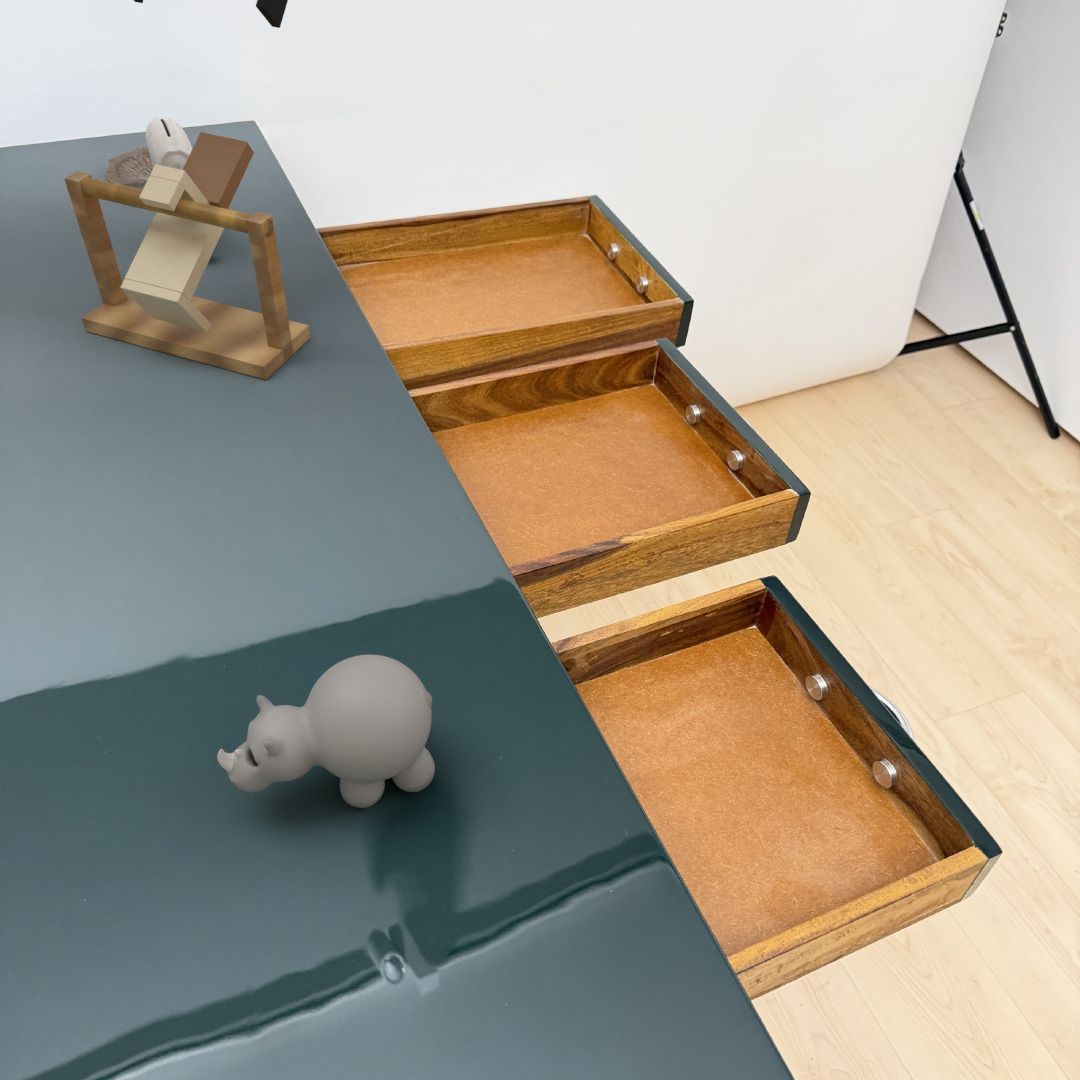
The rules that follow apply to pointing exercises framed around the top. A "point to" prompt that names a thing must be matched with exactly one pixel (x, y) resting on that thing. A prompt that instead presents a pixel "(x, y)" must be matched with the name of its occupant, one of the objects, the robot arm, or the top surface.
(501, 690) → the top surface
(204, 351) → the stand
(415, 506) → the top surface
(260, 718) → the round bodied animal figurine
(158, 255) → the beige and brown blocks
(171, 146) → the white rounded oblong piece
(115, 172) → the fossil
